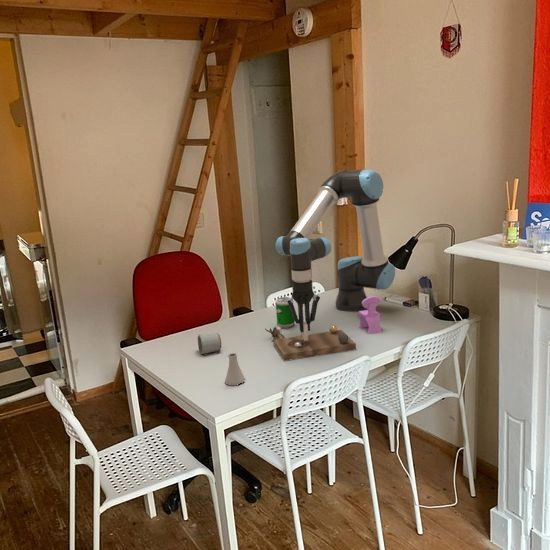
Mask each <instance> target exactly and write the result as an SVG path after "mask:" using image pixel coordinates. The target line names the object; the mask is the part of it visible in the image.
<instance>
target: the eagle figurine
mask: <svg viewBox="0 0 550 550" xmlns="http://www.w3.org/2000/svg"><path fill="white" fill-rule="evenodd" d="M264 330H265V331H266V332H267V333H270V335H271V336H272V337H271V339H270V340H271V343H272V342H274V340H276V339H283V338H286V336H284V335H283V334H282V328H281V327H279V326H278V325H277V326H275V327H273V329H272V327H271V328H269V329H267V328H264Z"/></svg>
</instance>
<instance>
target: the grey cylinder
mask: <svg viewBox="0 0 550 550" xmlns="http://www.w3.org/2000/svg"><path fill="white" fill-rule="evenodd" d="M197 345H198V350H199V353H200V355H203V354H204V355H205V354H209V353H216V352H219V351H221V349H222V338H221V336H220V334H219V333H218V332H210V333H201V334H198V336H197Z"/></svg>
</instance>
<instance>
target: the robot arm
mask: <svg viewBox="0 0 550 550" xmlns="http://www.w3.org/2000/svg"><path fill="white" fill-rule="evenodd" d="M383 190H384V182H383V178H382V177H381V174H380V173H379V172H378V171H376V170H374V169H366V168H365V169H342V170H339V171H337V172H334V173H333V174H332V175H330V176H329V177H328V178H327V179H326V180H325V181H323V182H322V184H321V185H320V186H319V188H318V189H317V194H316V196H315V197H314V199H313V200H312V202H311V203H310V204H309V205H308V206H307V208H306V209H305V211H304V212H303V213H302V214H301V216H300V218H299V219H298V220H297V221H296V223H295V225H294V226H293V227H292V228H291V229H290V231H289V232H288V234H287V235H284V236H283V235H282V236H279V237H278V238H277V239H276V241H275V250H276V252H277V254H279V255H281V256H285V257H290V265H291V266H290V268H291V269H290V270H291V271H290V272H291V280H292V281H291V283H292V284H291V285H292V287H291V288H292V293H291V297H289V299H287V300H286V301H287V303H288V304H289V306H290V309H291V312H292V315H293V318H294V323H295V324H299V331H300V333H302V336H303V339H304V341H307V340H308V335H309V332H311V323H312V322H315V320H316V313H317V311H318V310H317V309H318V304H319V301H320V300H321V296H319V295H318V294H315V292H314V289H313V280H312V278H313V273H312V262H314V261H316V260H319V259H323V258H325V257H327V256H328V255H330V254H331V251H332V244H331V242H330V240H329V239H328V238H326V237H317V238H310V236H311V235H312V233H313V232H314V231H315V229H316V228H317V227H318V225H319V224H320V222H321V221H322V220H323V218H324V217H325V215H327V213H328V212H329V210H330V209H331V207H332V206H333V205H335V204H337V203H338V202H339V201H340V199H343V198H346V199H347V198H348V199H350V203H351V206H352V207H355V210H356V216H357V222H358V229H359V234H360V241H361V245H362V247H361V248H362V252H363V253H362V254H363V256H360V255H358V256H357V255H356V256H350V257H349V256H347V257H343V258H341V259H339V260H338V262H337V280H338V281H337V282H338V291H337V296H336V299H335V308H336V309H337V310H339V311H344V312H359V311H364V310H367V309H366V308H364V307H363V306H362V301H363V300H364V299H366V298H368V297H367V294H366V291H365V288H368V289H375V290H388V289H389V288H390V287H391V286H392V285H393V283H394V280H395V276H396V268H395V266H394V264H392V263H389V258H388V256H387V255H385V254H384V247H383V241H382V240H383V239H382V234H381V228H380V227H381V226H380V221H379V219H380V218H379V214H378V213H379V212H378V208H377V206H378V205H377V203H378V202H380V198H381V197H382V195H383V192H384V191H383ZM294 301H295V302H296V304H297V311H298V315H297V312H296V308H295V305H294ZM311 301H312V303H311V311H310V302H311ZM304 319H305V321H304Z"/></svg>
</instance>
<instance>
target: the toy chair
mask: <svg viewBox="0 0 550 550" xmlns="http://www.w3.org/2000/svg"><path fill="white" fill-rule="evenodd" d="M381 302H382V300H381V297H379V296H377V295H375V296H374V295H372V296H368V297H367V298H366V299H364V300H363V301H362V306H363V307H364V308H366V309H364V310H359V311H358V317H359V318H358V319H359V326H358V329H363V328H368V331H367V335H372V334H377V333H382V332H383V330H382V329H381V326H380V320H381V315H380V314H381V313H380V312H378V311H376V308H377V306H379V305H380V303H381Z"/></svg>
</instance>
